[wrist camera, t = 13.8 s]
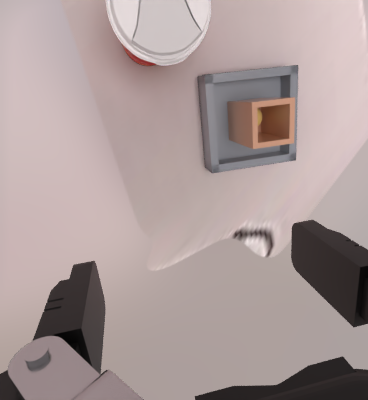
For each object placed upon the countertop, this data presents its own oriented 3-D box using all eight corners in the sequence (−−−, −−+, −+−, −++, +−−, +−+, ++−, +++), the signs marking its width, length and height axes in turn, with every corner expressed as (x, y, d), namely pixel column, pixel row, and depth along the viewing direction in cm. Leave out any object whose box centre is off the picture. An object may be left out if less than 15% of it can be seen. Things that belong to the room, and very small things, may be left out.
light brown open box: (227, 101, 39) (251, 102, 32) (262, 97, 40) (295, 97, 32) (229, 140, 41) (253, 149, 33) (263, 135, 41) (294, 143, 34)
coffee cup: (104, 3, 34) (91, -65, 20) (174, -5, 35) (209, -74, 21) (120, 81, 37) (119, 70, 23) (184, 72, 38) (221, 56, 24)
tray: (197, 76, 38) (204, 74, 35) (283, 67, 40) (298, 65, 37) (205, 167, 42) (212, 173, 39) (283, 155, 44) (295, 160, 41)
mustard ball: (236, 109, 39) (242, 105, 37) (256, 107, 40) (264, 103, 37) (238, 131, 40) (245, 128, 37) (258, 128, 40) (266, 126, 37)
